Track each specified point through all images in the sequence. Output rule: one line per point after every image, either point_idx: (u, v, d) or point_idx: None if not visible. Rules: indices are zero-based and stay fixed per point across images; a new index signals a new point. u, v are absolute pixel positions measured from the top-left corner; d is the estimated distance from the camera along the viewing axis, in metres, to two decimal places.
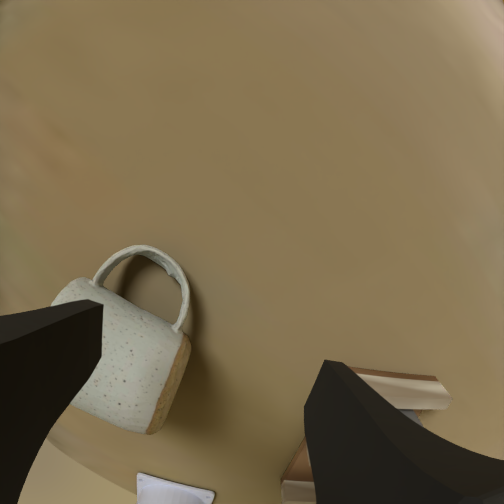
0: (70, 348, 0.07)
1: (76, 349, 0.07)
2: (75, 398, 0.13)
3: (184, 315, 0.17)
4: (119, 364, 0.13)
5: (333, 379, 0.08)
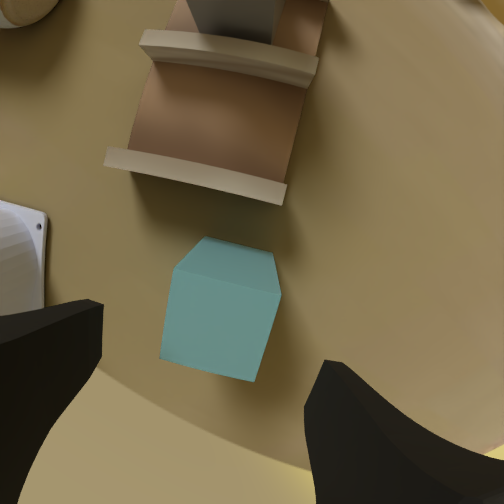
0: (70, 349, 0.07)
1: (76, 349, 0.07)
2: None
3: None
4: None
5: (333, 379, 0.08)
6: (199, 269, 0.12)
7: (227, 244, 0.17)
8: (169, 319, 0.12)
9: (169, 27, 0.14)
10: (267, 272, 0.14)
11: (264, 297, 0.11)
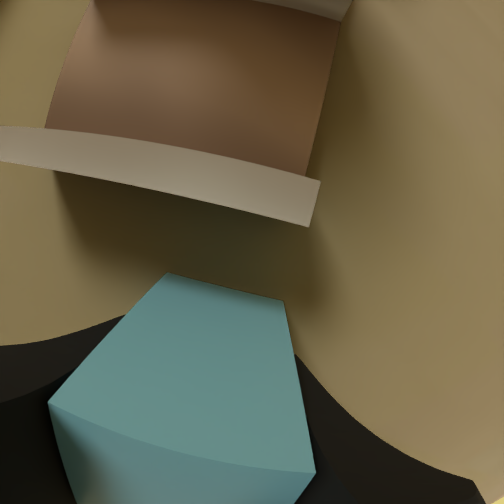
0: None
1: None
2: None
3: None
4: None
5: None
6: (112, 402, 0.04)
7: (203, 290, 0.09)
8: (74, 476, 0.04)
9: None
10: (277, 374, 0.06)
11: (273, 478, 0.04)
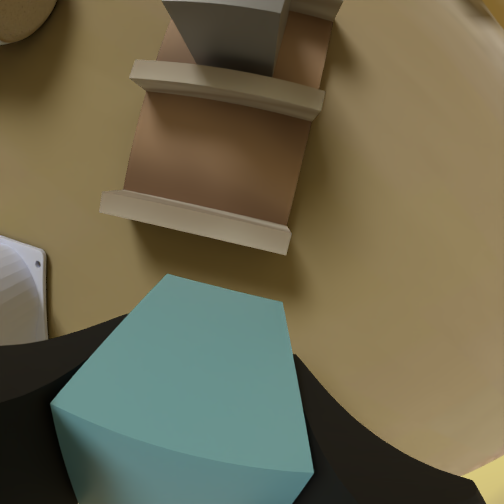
0: None
1: None
2: None
3: None
4: None
5: None
6: (113, 403, 0.04)
7: (203, 292, 0.10)
8: (75, 476, 0.04)
9: (162, 52, 0.14)
10: (276, 375, 0.06)
11: (271, 478, 0.04)
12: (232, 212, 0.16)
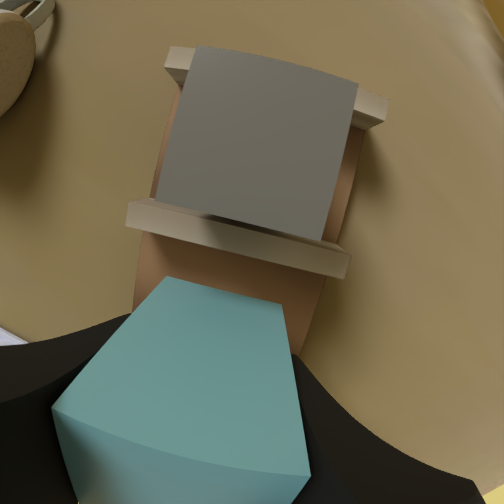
0: None
1: None
2: None
3: (36, 9, 0.10)
4: None
5: None
6: (113, 407, 0.04)
7: (202, 294, 0.10)
8: (76, 478, 0.04)
9: (160, 168, 0.14)
10: (275, 378, 0.06)
11: (268, 480, 0.04)
12: None
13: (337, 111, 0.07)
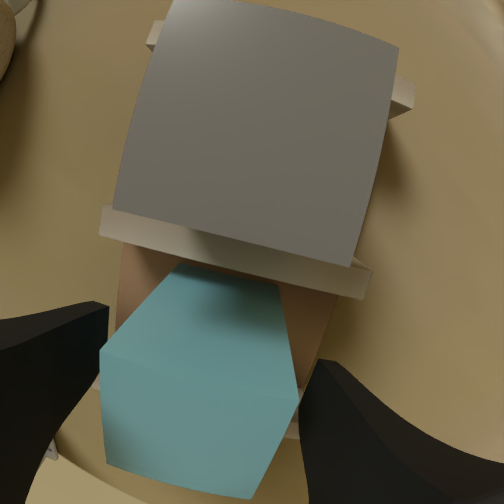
0: (76, 351, 0.07)
1: (82, 351, 0.07)
2: None
3: None
4: None
5: (326, 378, 0.08)
6: (148, 350, 0.06)
7: (211, 276, 0.11)
8: (108, 422, 0.06)
9: None
10: (272, 336, 0.08)
11: (267, 404, 0.06)
12: None
13: (372, 81, 0.04)
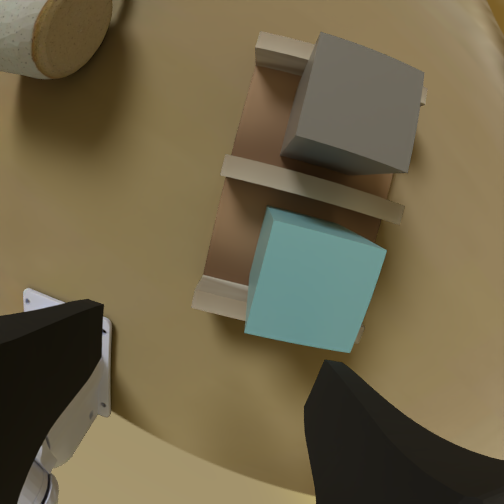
0: (70, 348, 0.07)
1: (76, 349, 0.07)
2: None
3: None
4: None
5: (333, 379, 0.08)
6: (298, 224, 0.10)
7: (294, 212, 0.16)
8: (262, 282, 0.10)
9: (241, 133, 0.16)
10: (353, 234, 0.12)
11: (370, 252, 0.10)
12: None
13: (413, 88, 0.09)
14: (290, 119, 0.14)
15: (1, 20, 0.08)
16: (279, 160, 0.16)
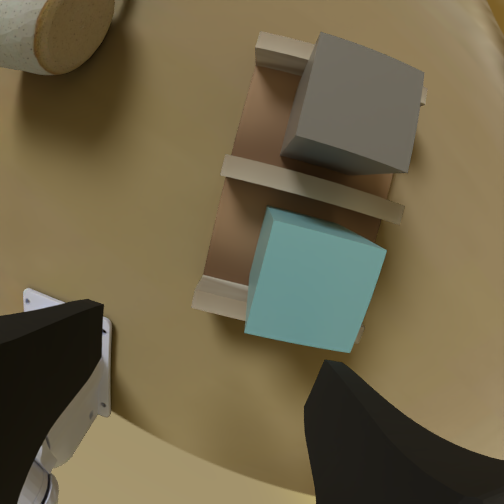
0: (70, 348, 0.07)
1: (76, 349, 0.07)
2: None
3: None
4: None
5: (333, 379, 0.08)
6: (298, 224, 0.10)
7: (294, 212, 0.16)
8: (262, 282, 0.10)
9: (241, 133, 0.16)
10: (353, 234, 0.12)
11: (370, 252, 0.10)
12: None
13: (413, 88, 0.09)
14: (290, 119, 0.14)
15: (3, 16, 0.08)
16: (279, 160, 0.16)
